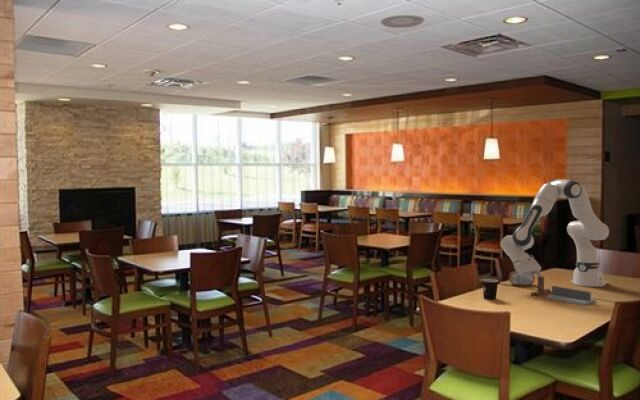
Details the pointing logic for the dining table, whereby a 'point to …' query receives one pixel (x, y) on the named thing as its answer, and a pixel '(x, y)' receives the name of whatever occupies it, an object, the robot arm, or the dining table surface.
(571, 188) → the robot arm
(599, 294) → the dining table surface
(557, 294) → the ridge stand
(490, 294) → the coffee mug
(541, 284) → the brown t-shaped block
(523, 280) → the tin
